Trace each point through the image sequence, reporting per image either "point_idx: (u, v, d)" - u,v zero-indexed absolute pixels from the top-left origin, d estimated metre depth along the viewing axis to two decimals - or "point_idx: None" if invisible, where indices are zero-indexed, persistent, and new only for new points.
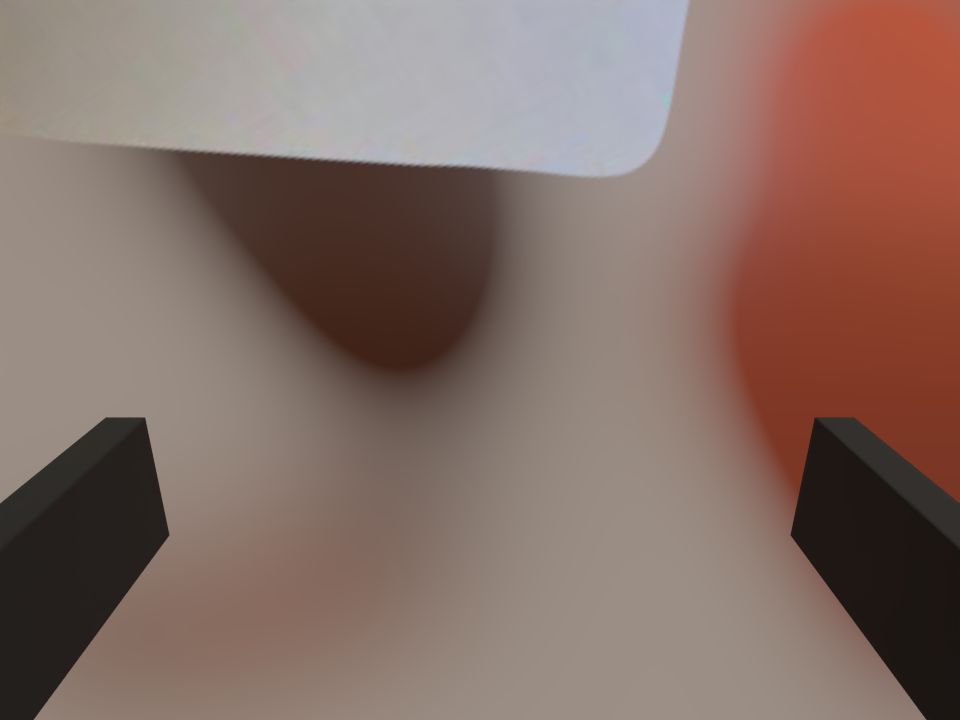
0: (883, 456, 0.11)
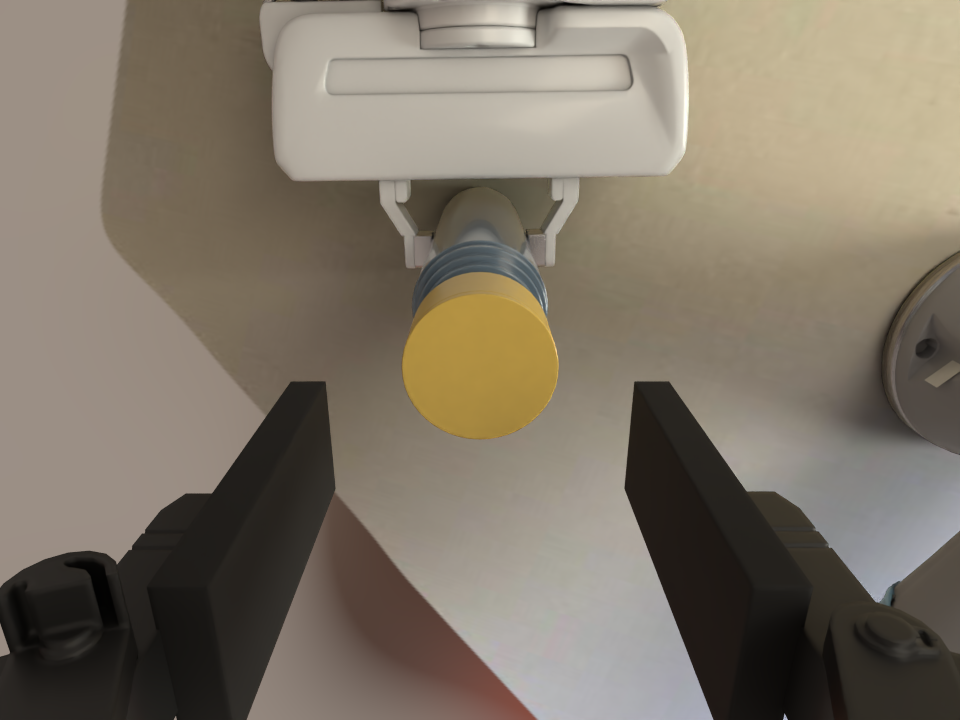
0: (674, 411, 0.13)
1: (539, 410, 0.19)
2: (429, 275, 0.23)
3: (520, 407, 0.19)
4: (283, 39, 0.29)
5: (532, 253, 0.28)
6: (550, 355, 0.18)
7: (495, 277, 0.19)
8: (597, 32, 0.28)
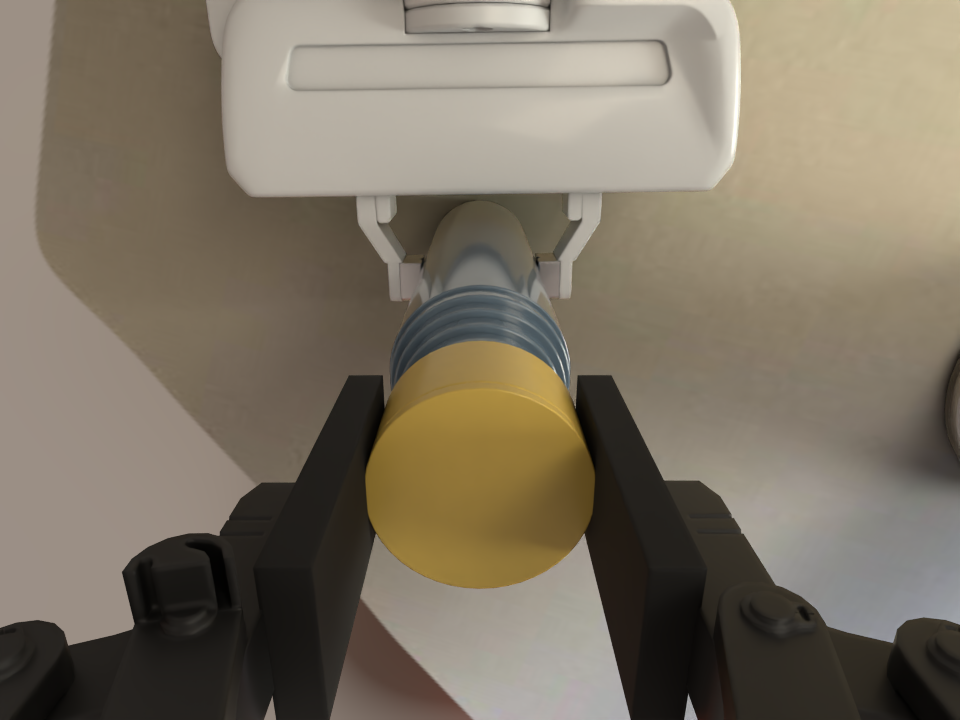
0: (610, 403, 0.13)
1: (567, 550, 0.13)
2: (411, 333, 0.17)
3: (539, 546, 0.13)
4: (233, 21, 0.23)
5: (546, 291, 0.22)
6: (585, 475, 0.12)
7: (502, 351, 0.13)
8: (628, 11, 0.23)
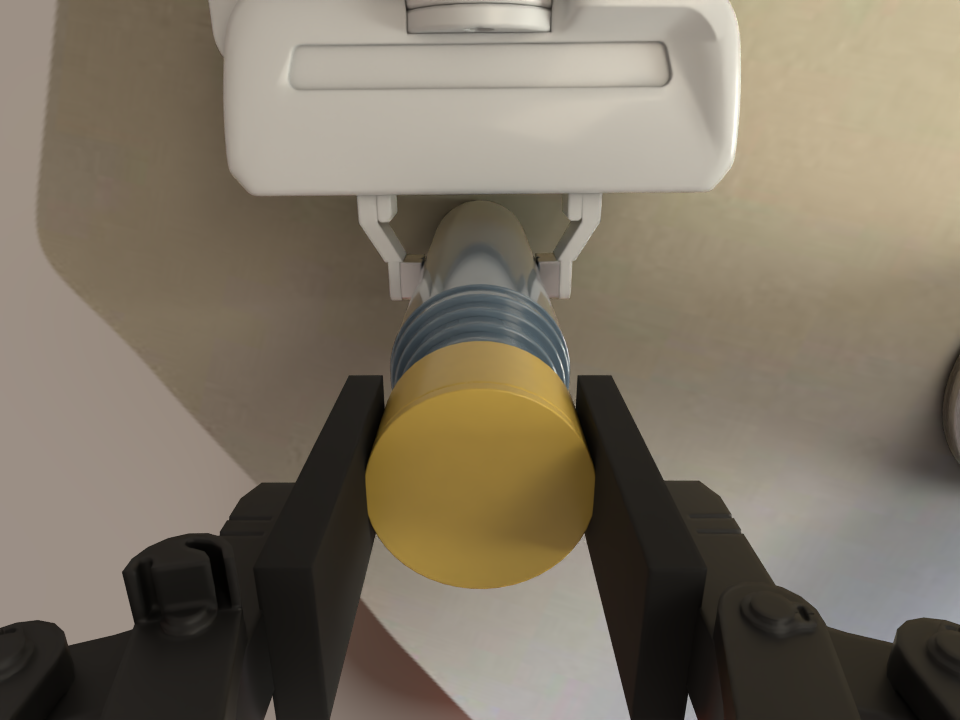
0: (610, 403, 0.13)
1: (517, 398, 0.12)
2: (412, 331, 0.17)
3: (521, 426, 0.12)
4: (236, 20, 0.23)
5: None
6: (423, 412, 0.12)
7: None
8: (629, 12, 0.23)
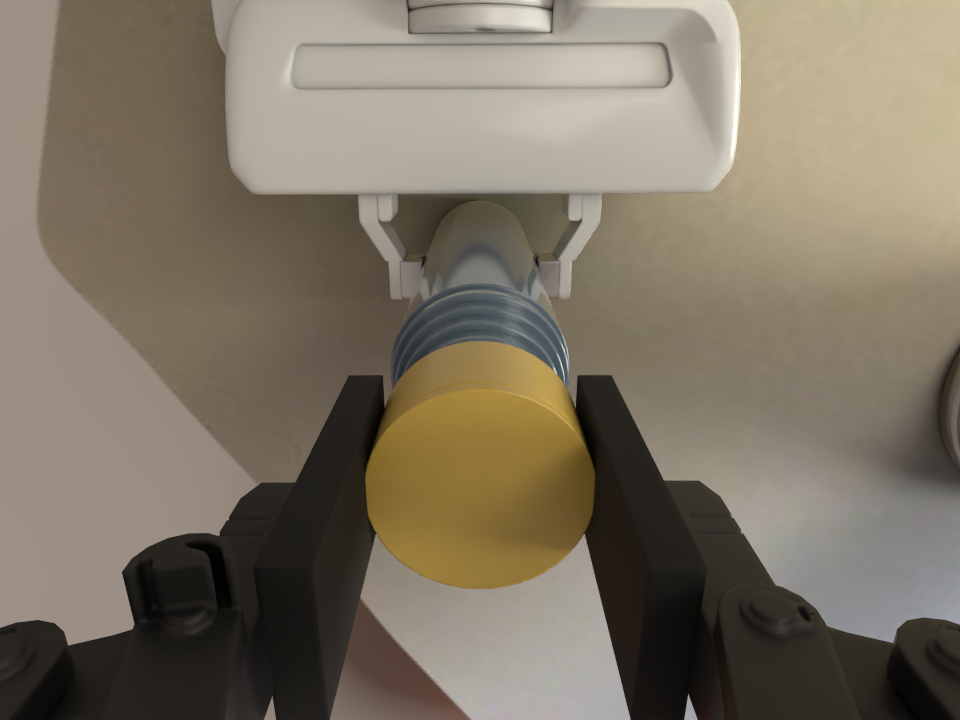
0: (610, 403, 0.13)
1: (367, 495, 0.12)
2: (413, 330, 0.17)
3: (393, 484, 0.12)
4: (238, 19, 0.24)
5: None
6: (413, 560, 0.13)
7: None
8: (630, 14, 0.23)
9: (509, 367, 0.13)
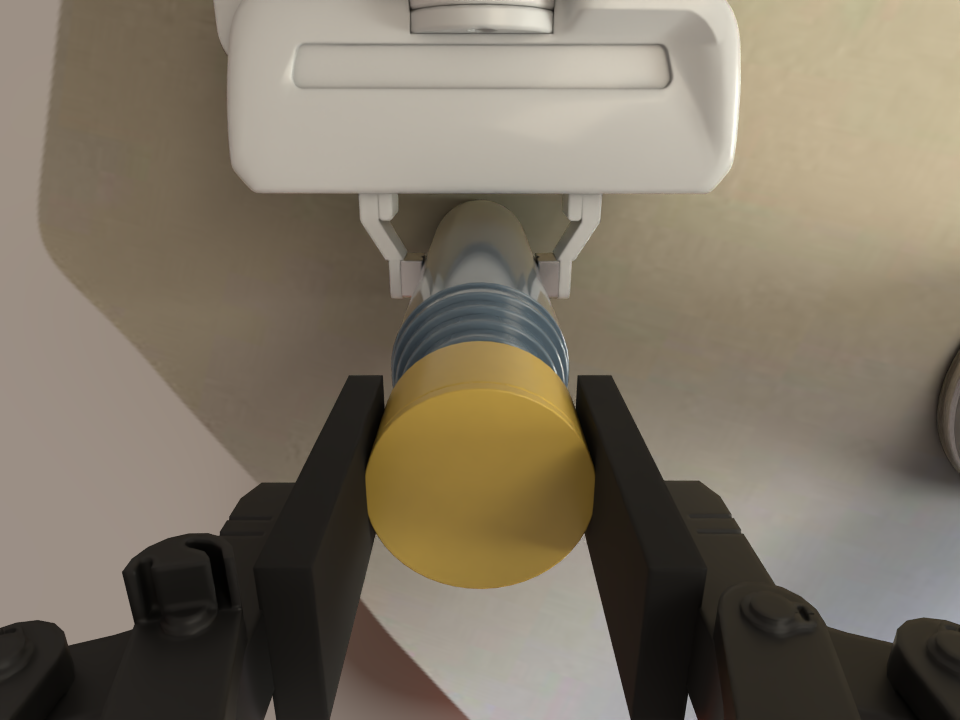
0: (610, 403, 0.13)
1: (513, 581, 0.13)
2: (413, 328, 0.17)
3: (494, 565, 0.13)
4: (240, 18, 0.24)
5: None
6: (575, 530, 0.13)
7: (557, 380, 0.14)
8: (630, 15, 0.23)
9: None
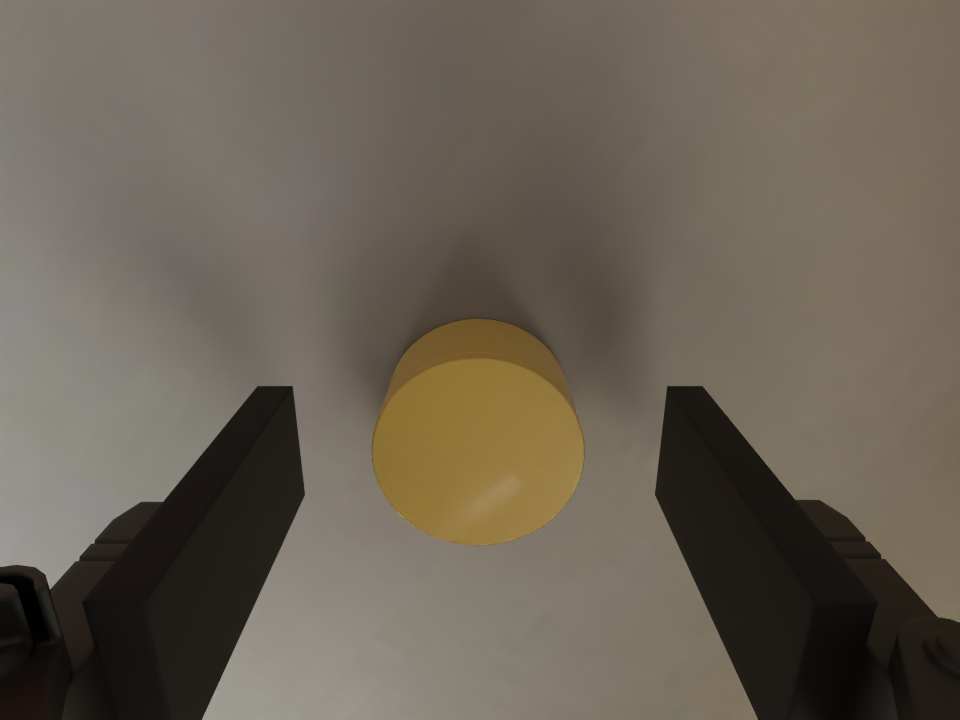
0: (711, 417, 0.12)
1: (508, 538, 0.14)
2: None
3: (490, 523, 0.14)
4: None
5: None
6: (565, 490, 0.14)
7: (549, 355, 0.15)
8: None
9: None
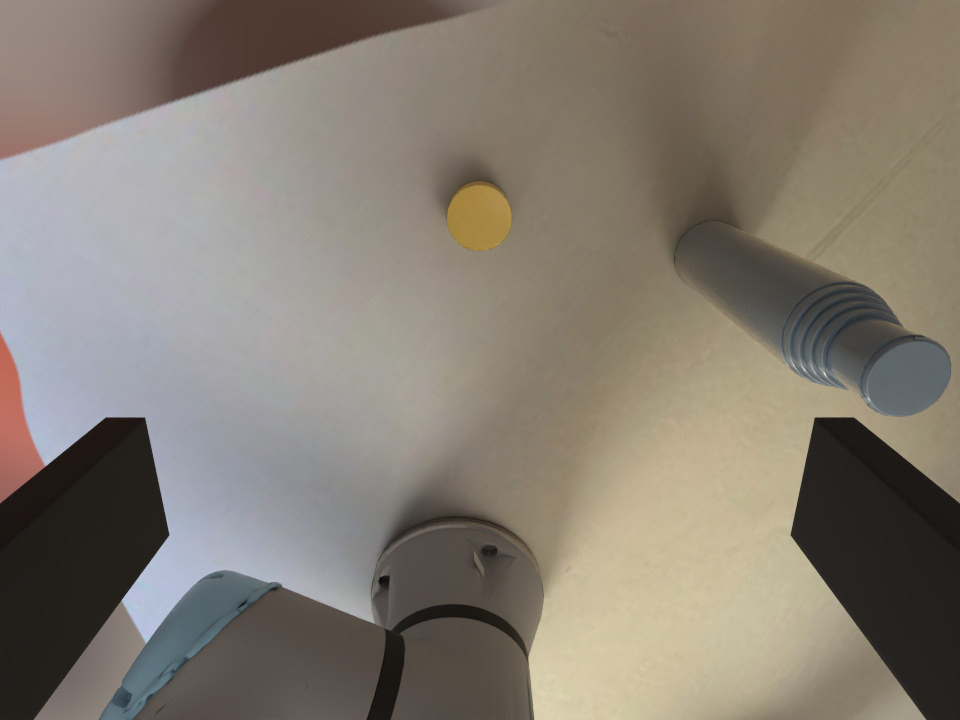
0: (883, 456, 0.11)
1: (489, 248, 0.45)
2: None
3: (483, 242, 0.45)
4: None
5: None
6: (506, 230, 0.44)
7: (502, 192, 0.45)
8: None
9: None
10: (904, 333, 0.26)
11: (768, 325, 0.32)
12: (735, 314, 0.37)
